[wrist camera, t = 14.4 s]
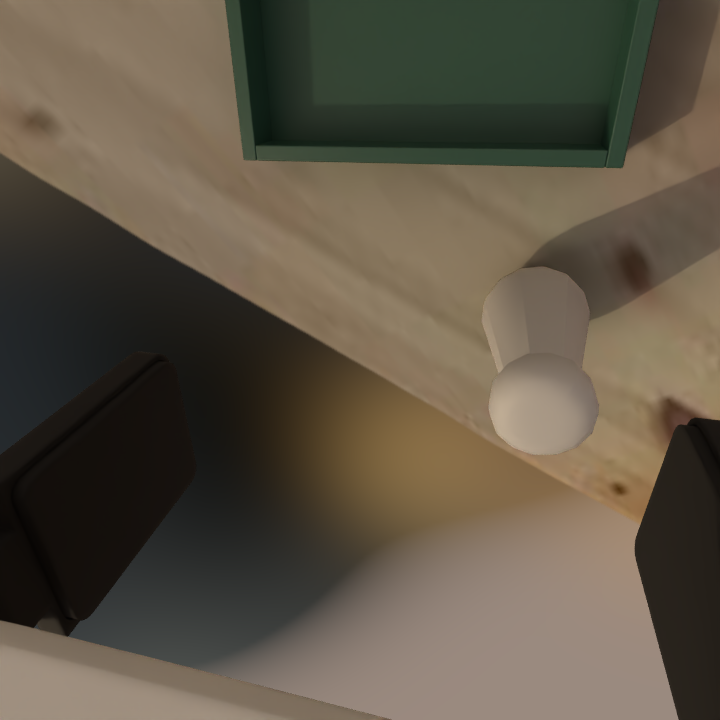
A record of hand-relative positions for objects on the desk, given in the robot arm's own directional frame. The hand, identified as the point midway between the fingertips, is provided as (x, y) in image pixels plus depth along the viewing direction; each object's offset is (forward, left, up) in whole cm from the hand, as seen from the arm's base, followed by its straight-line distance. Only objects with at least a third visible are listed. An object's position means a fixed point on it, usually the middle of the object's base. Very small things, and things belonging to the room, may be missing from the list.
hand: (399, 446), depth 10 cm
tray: (-3, +9, -23) cm, 25 cm away
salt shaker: (+4, -6, -23) cm, 24 cm away
